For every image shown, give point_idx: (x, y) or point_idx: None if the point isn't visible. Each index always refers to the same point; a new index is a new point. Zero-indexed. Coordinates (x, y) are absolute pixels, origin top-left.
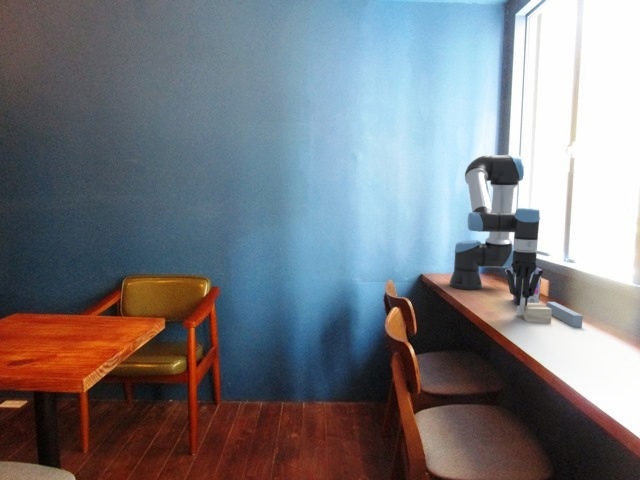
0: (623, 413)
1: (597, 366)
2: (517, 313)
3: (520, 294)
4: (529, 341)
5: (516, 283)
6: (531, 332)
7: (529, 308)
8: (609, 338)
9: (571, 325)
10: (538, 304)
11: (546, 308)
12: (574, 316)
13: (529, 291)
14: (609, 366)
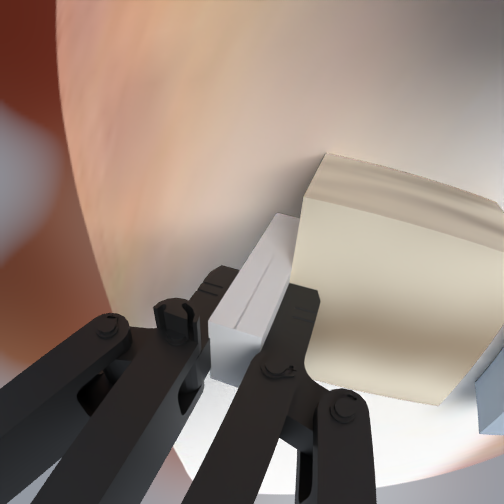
0: None
1: None
2: (323, 159)
3: (187, 400)
4: None
5: (76, 465)
6: None
7: None
8: (456, 449)
9: (480, 378)
10: (473, 306)
11: (419, 392)
12: (482, 428)
13: (330, 440)
14: (282, 483)
